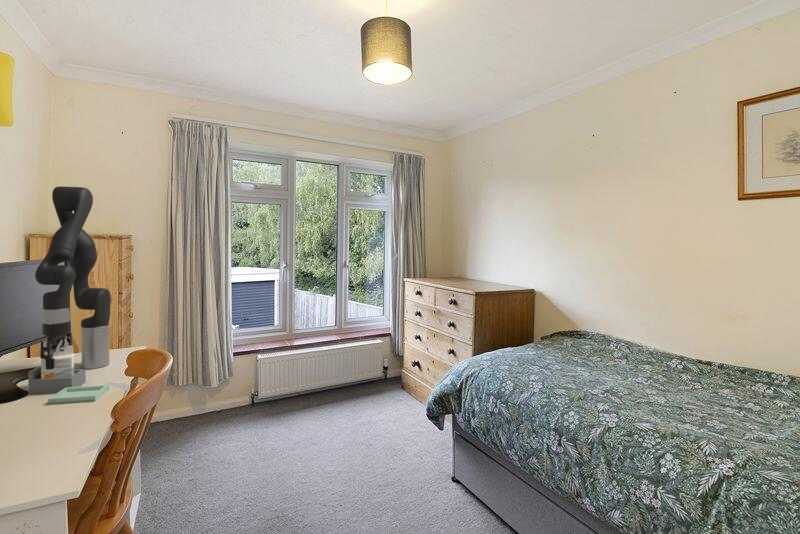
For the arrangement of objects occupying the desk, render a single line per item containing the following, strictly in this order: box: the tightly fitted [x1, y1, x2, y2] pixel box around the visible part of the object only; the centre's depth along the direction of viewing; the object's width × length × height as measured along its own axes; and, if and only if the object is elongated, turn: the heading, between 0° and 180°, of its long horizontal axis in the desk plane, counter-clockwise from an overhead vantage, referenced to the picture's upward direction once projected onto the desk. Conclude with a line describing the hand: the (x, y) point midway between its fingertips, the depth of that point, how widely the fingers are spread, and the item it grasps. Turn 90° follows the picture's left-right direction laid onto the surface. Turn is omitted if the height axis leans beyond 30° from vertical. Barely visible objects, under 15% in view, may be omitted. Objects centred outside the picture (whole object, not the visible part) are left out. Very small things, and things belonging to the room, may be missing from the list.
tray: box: [47, 384, 110, 405], centre depth 130 cm, size 10×13×2 cm
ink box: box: [40, 345, 75, 379], centre depth 136 cm, size 8×5×15 cm, turn 124°
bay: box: [27, 365, 87, 395], centre depth 136 cm, size 9×12×8 cm
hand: (57, 365), depth 136 cm, fingers open, 8 cm apart
